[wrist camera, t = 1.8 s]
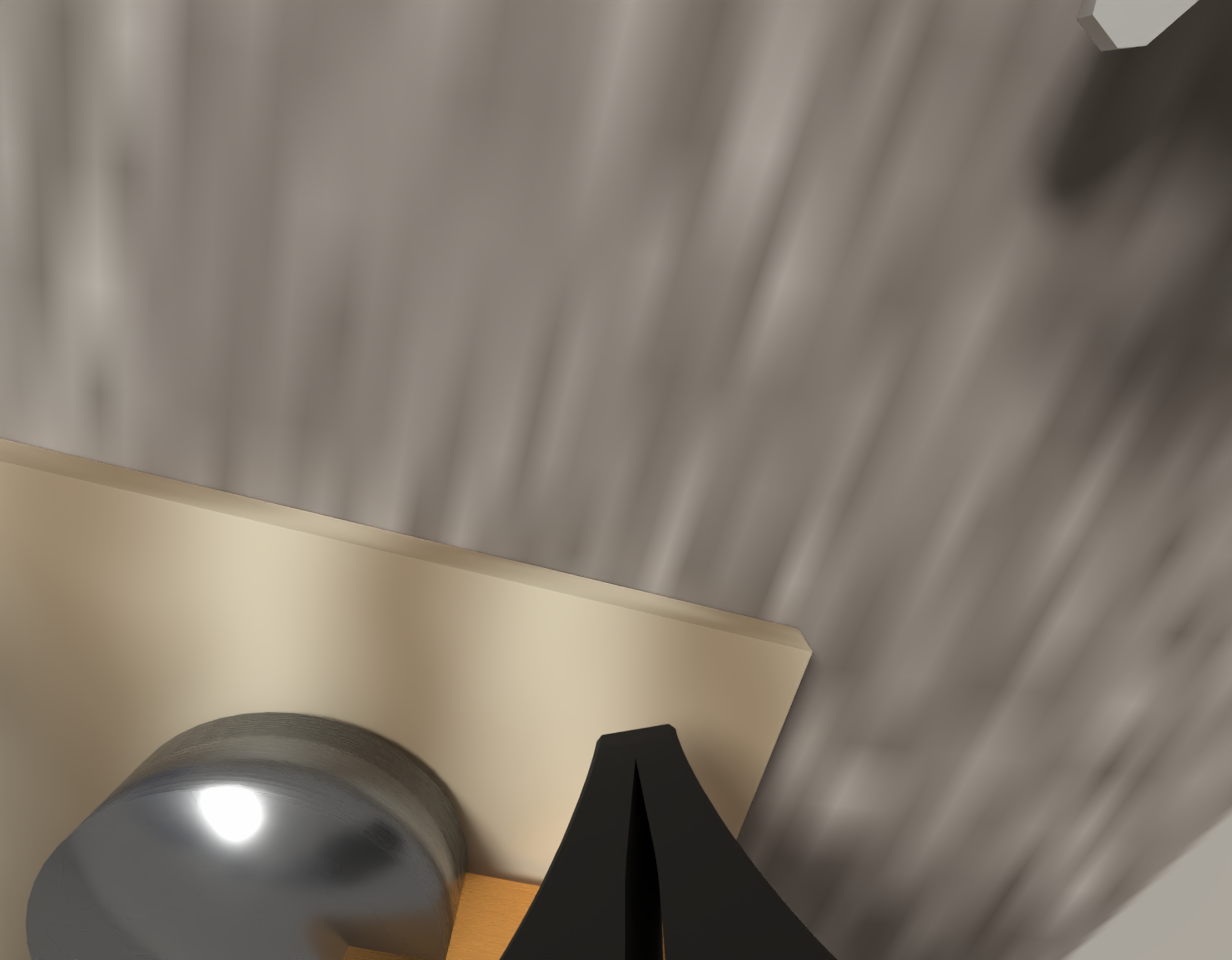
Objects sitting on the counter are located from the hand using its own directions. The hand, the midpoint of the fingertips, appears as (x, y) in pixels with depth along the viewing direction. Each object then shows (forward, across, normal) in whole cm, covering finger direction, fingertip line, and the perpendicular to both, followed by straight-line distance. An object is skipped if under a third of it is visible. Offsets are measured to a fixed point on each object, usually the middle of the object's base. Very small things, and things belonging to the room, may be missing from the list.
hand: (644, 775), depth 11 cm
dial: (+2, +6, +4) cm, 8 cm away
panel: (+4, +8, +4) cm, 10 cm away
